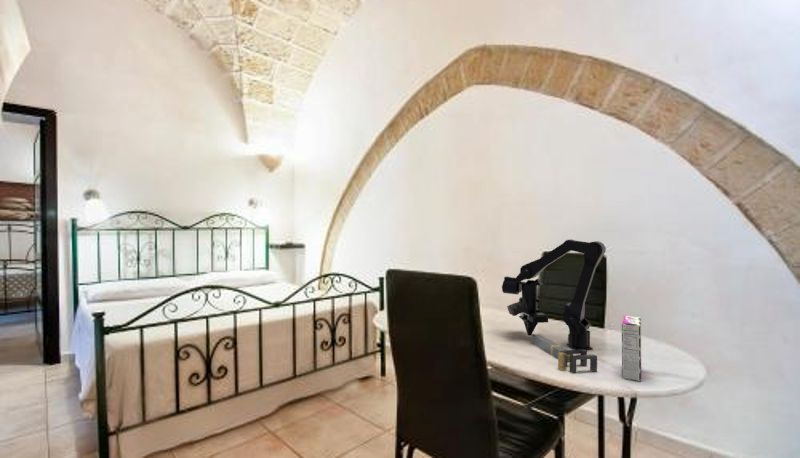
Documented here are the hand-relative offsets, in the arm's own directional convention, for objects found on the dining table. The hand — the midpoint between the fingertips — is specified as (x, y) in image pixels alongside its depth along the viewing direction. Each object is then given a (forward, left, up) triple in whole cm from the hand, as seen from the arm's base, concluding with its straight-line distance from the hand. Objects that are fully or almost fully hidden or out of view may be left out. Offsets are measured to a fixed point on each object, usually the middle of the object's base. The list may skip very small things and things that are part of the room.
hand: (529, 335), depth 154 cm
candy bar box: (-13, +39, -2) cm, 41 cm away
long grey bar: (0, +16, -1) cm, 16 cm away
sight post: (+6, +32, -1) cm, 33 cm away
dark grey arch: (0, +35, -1) cm, 35 cm away
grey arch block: (0, +30, -1) cm, 30 cm away
